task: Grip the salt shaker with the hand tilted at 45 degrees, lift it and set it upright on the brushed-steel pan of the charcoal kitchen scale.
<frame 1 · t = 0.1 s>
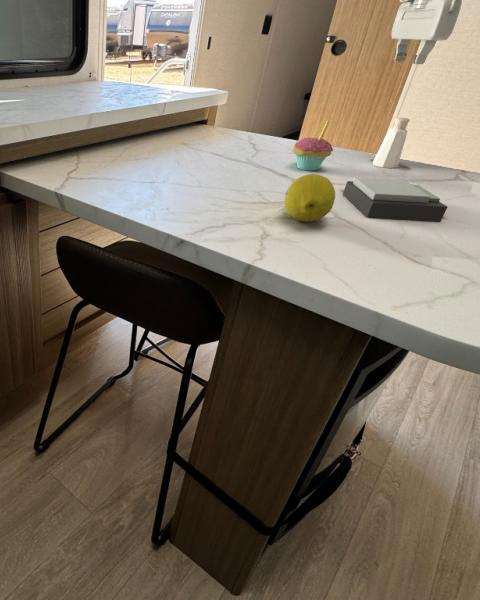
hand: (408, 62, 98), 22 cm above the table, tool pointing down, fingers open, 8 cm apart
scale: (387, 207, 80), on the table
lemon: (301, 221, 74), on the table
salt shaker: (384, 166, 104), on the table
cupcake: (306, 168, 103), on the table
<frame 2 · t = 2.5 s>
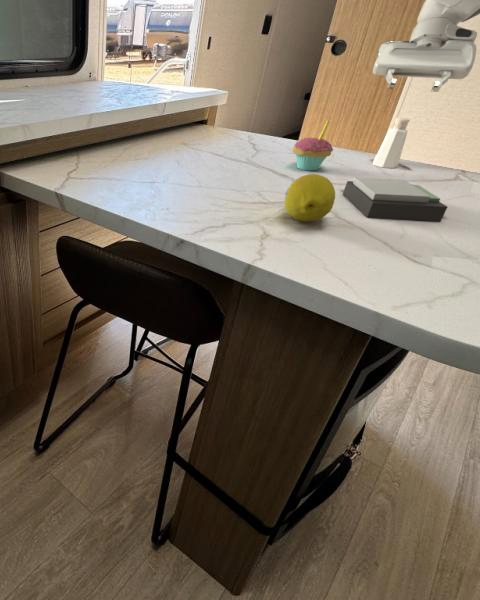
hand: (412, 88, 104), 16 cm above the table, tool tilted 45°, fingers open, 8 cm apart
nothing on the table moved.
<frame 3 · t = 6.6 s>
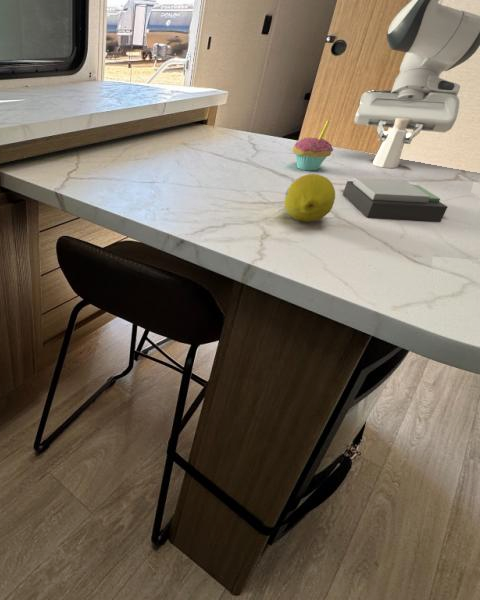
hand: (394, 141, 101), 6 cm above the table, tool tilted 45°, fingers closed on salt shaker, 4 cm apart
salt shaker: (384, 166, 104), on the table, touching gripper
everything else where it was.
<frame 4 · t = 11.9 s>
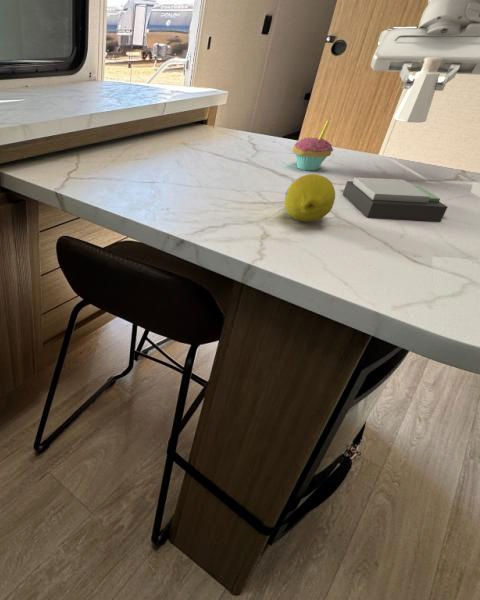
hand: (422, 87, 80), 19 cm above the table, tool tilted 45°, fingers closed on salt shaker, 4 cm apart
salt shaker: (408, 121, 84), point 13 cm above the table, touching gripper
everything else where it was.
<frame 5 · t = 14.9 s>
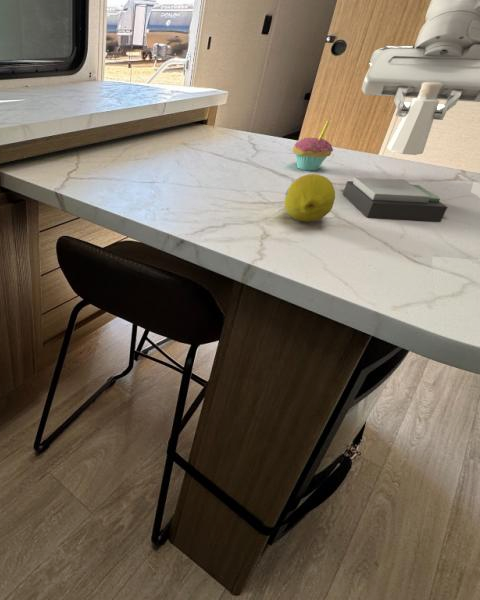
hand: (419, 115, 71), 16 cm above the table, tool tilted 45°, fingers closed on salt shaker, 4 cm apart
salt shaker: (403, 152, 74), point 10 cm above the table, touching gripper
everything else where it was.
when the fingers open (10 cm above the table, at t = 17.0 s): salt shaker stays where it is, resting on scale.
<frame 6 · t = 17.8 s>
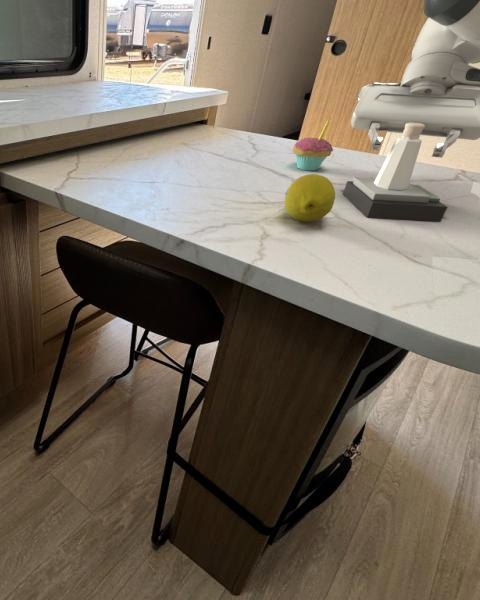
hand: (405, 151, 74), 10 cm above the table, tool tilted 45°, fingers open, 8 cm apart
salt shaker: (389, 187, 78), point 4 cm above the table, touching scale
everything else where it was.
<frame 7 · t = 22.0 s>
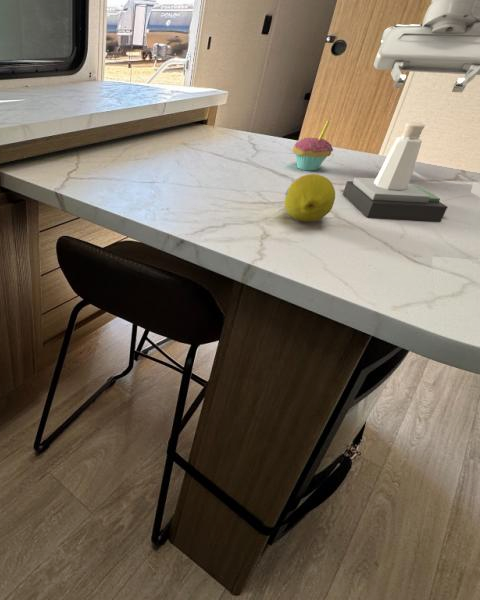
hand: (427, 88, 78), 19 cm above the table, tool tilted 45°, fingers open, 8 cm apart
nothing on the table moved.
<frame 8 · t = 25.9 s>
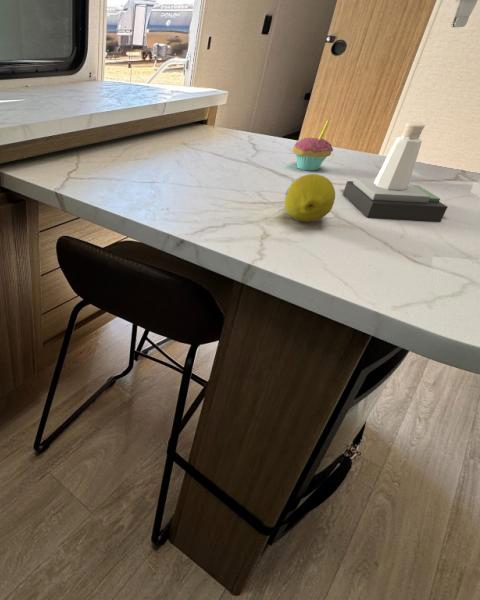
hand: (457, 27, 86), 29 cm above the table, tool pointing down, fingers open, 8 cm apart
nothing on the table moved.
at the end: salt shaker inside the target area on the scale (0.0 cm from its centre), point 3.8 cm above the scale's base; salt shaker tilted 0°; the gripper is holding nothing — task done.
